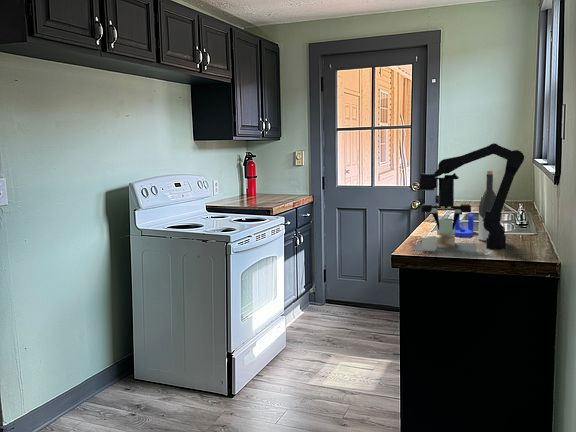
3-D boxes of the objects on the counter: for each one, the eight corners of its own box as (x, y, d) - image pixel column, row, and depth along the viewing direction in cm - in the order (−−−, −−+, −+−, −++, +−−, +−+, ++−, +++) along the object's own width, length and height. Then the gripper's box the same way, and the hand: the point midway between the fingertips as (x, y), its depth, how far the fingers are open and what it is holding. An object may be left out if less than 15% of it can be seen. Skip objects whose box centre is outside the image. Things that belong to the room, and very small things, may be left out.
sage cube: (452, 230, 220) (452, 218, 219) (452, 232, 215) (452, 220, 214) (439, 230, 221) (439, 218, 220) (439, 232, 216) (439, 220, 216)
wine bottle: (500, 244, 224) (502, 171, 220) (479, 244, 226) (480, 171, 222) (497, 241, 232) (498, 170, 228) (477, 240, 233) (478, 170, 230)
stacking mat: (475, 245, 223) (475, 223, 221) (477, 255, 204) (477, 231, 203) (417, 244, 229) (417, 223, 228) (413, 253, 210) (413, 230, 209)
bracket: (455, 231, 261) (455, 212, 260) (473, 231, 258) (473, 212, 257) (451, 237, 245) (452, 217, 244) (471, 238, 242) (471, 217, 241)
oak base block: (454, 244, 221) (454, 234, 221) (454, 247, 214) (454, 237, 214) (436, 244, 223) (436, 234, 223) (436, 247, 216) (436, 237, 216)
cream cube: (436, 248, 214) (436, 235, 213) (435, 250, 209) (435, 238, 209) (422, 248, 216) (422, 235, 215) (422, 250, 211) (422, 237, 210)
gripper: (470, 188, 221) (470, 227, 223) (423, 189, 226) (423, 226, 228) (471, 191, 210) (470, 231, 212) (421, 191, 216) (421, 230, 218)
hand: (445, 229), depth 218 cm, fingers closed on sage cube, 5 cm apart
